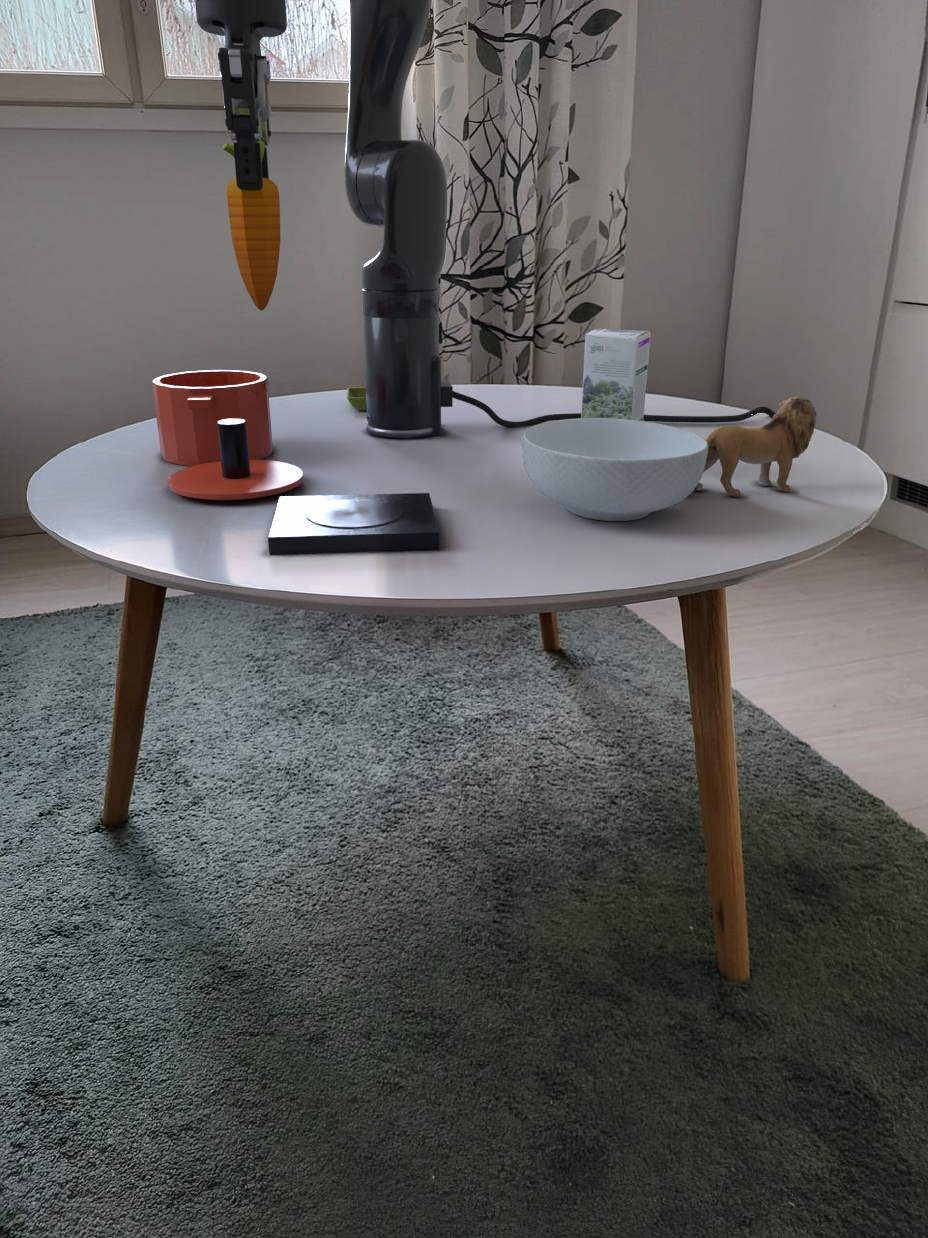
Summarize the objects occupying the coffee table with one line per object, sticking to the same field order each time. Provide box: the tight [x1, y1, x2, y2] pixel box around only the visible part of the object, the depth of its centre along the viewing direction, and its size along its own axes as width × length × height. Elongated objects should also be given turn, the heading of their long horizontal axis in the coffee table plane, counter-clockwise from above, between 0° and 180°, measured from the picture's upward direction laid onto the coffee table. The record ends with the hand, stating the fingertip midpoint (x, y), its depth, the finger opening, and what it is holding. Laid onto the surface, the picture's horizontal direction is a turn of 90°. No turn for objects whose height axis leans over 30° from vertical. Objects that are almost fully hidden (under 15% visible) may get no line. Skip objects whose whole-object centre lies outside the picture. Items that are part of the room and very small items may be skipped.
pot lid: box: [167, 419, 305, 502], centre depth 94 cm, size 13×13×7 cm
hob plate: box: [267, 492, 440, 555], centre depth 82 cm, size 14×12×2 cm
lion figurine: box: [690, 396, 818, 498], centre depth 93 cm, size 15×5×9 cm, turn 116°
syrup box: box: [580, 328, 651, 421], centre depth 101 cm, size 6×6×14 cm
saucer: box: [346, 386, 367, 411], centre depth 134 cm, size 9×9×2 cm
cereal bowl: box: [521, 418, 708, 522], centre depth 87 cm, size 17×17×7 cm
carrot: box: [222, 141, 281, 311], centre depth 85 cm, size 5×5×15 cm
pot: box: [151, 369, 273, 467], centre depth 107 cm, size 12×18×8 cm
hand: (253, 189), depth 84 cm, fingers closed on carrot, 4 cm apart
